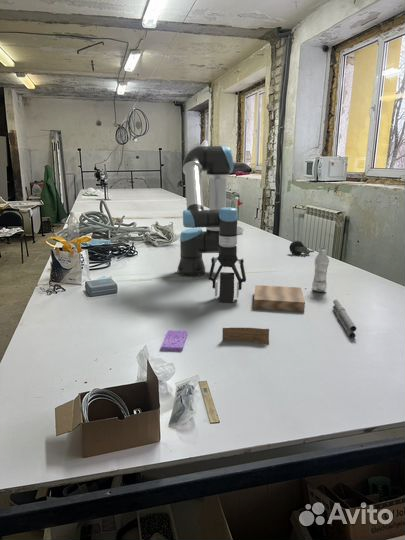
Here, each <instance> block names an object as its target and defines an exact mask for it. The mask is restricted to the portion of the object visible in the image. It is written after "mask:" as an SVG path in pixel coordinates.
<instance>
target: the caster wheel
mask: <svg viewBox="0 0 405 540" xmlns="http://www.w3.org/2000/svg"><path fill="white" fill-rule="evenodd" d="M289 251H290V253H291V254H292V255H294V256H299V255H301V254H304V256H305V257H306V256H308V255H310V253H314V252H315V250H311V249H309V248H308V246H307V245H305V244H304V243H303V242H302V241H301V240H293V241H291V243H290V244H289Z"/></svg>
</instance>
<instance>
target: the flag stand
mask: <svg viewBox="0 0 405 540" xmlns="http://www.w3.org/2000/svg"><path fill="white" fill-rule="evenodd" d="M234 200H235V208H236V209H237V210H238V207H239V206H241V205H242V204H244V202H241V201H239V197H238V196H235V197H234ZM244 231H245V227H244V226H239V225H237V236H241V235H240V234H242V235H243V234H244V233H243V232H244Z"/></svg>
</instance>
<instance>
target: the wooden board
mask: <svg viewBox="0 0 405 540" xmlns="http://www.w3.org/2000/svg"><path fill="white" fill-rule="evenodd" d="M253 298H254V299H253V309H254V310H255V309H256V310H271V311H272V310H273V311H284V312H285V311H287V312H302V313H304V312H305V307H306V306H305V305H306V301H305V297H304V293H303V290H302V287H299V286H298V287H297V286H296V287H295V286H281V285H279V286H277V285H259V284H255V289H254V297H253Z"/></svg>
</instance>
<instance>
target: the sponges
mask: <svg viewBox="0 0 405 540" xmlns="http://www.w3.org/2000/svg"><path fill="white" fill-rule="evenodd" d="M187 336H188V330H187V329H186V330H183V329H182V330H173V329H172V330H171V329H170V330H169V329H167V331H166V333H165V337H164V339H163V341H162V344H161V345H160V346H161V348H160V350H161V351H169V352H170V351H173V352H174V351H175V352H178V351H179V352H183V350H184V347H185V343H186V340H187Z"/></svg>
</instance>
